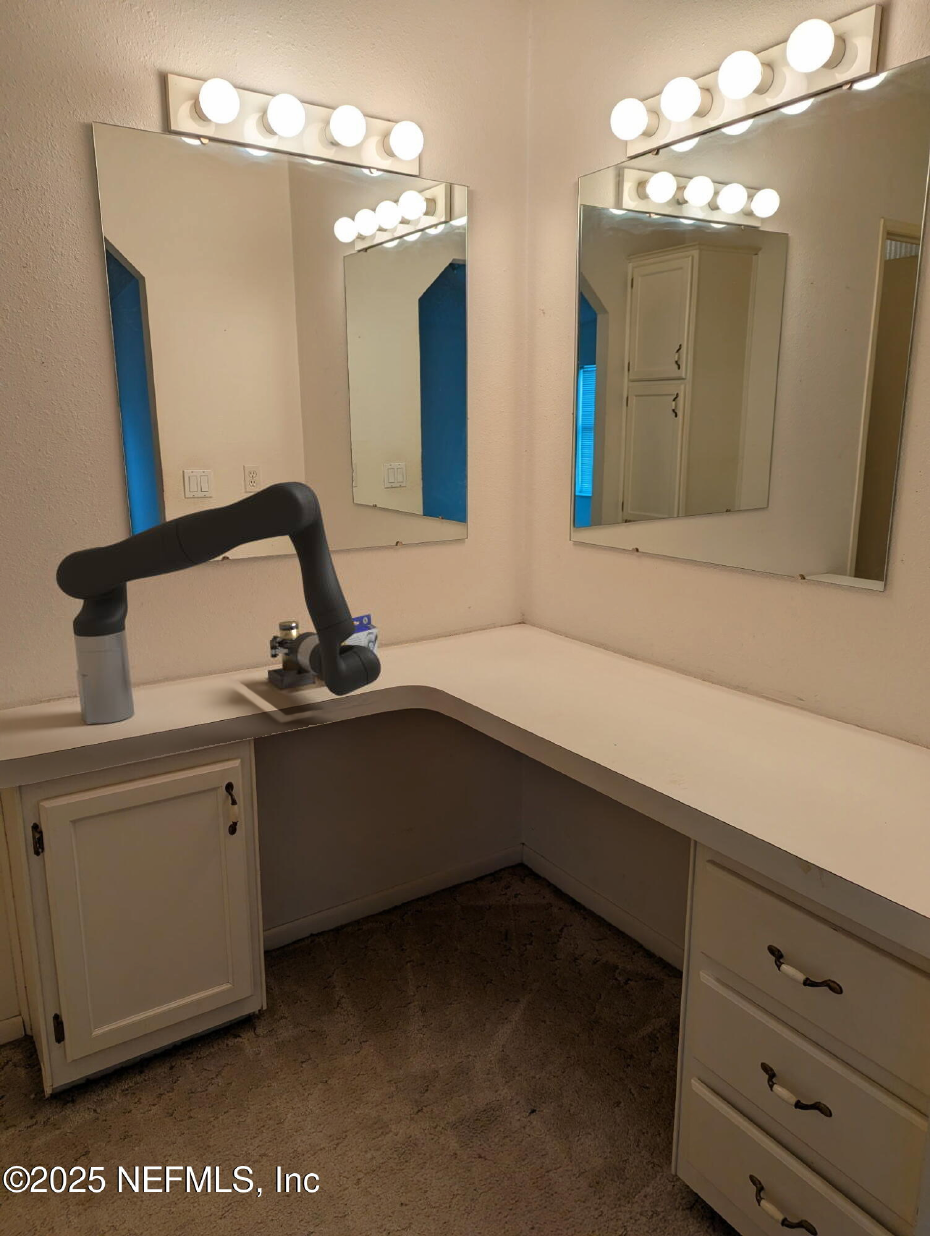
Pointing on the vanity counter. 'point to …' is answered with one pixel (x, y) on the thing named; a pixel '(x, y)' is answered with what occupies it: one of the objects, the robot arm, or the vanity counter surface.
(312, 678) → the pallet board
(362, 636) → the ink box
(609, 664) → the vanity counter surface
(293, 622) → the billet
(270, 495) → the robot arm
